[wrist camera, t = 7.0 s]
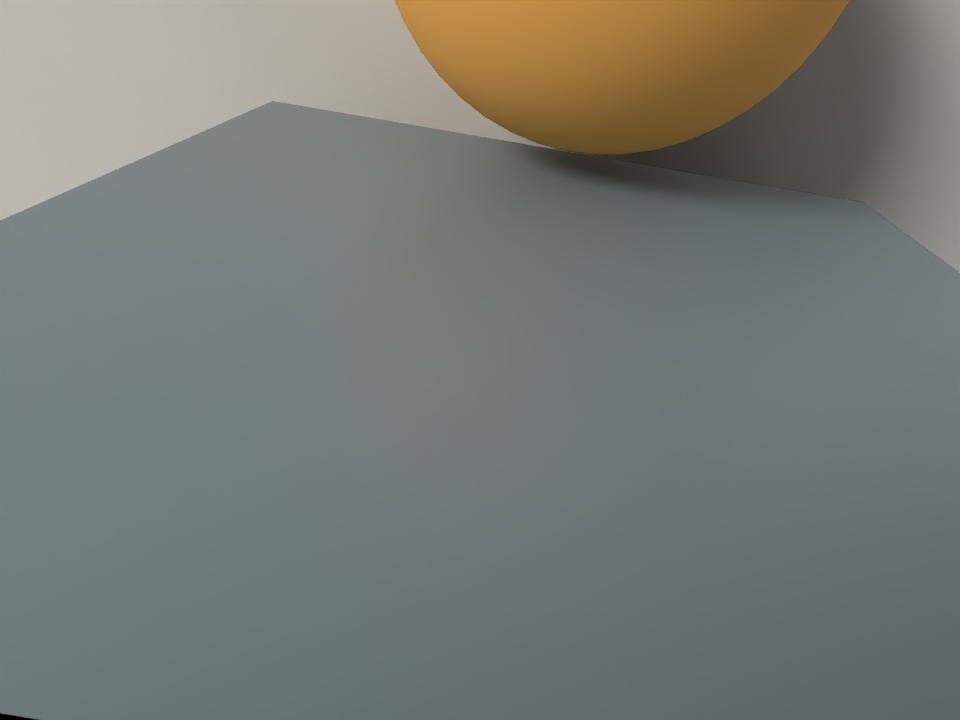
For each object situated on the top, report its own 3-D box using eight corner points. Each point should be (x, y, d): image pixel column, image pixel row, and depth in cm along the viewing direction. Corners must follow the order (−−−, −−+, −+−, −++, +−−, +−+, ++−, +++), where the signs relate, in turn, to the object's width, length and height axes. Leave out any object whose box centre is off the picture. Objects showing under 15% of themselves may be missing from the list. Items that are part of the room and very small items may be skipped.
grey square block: (694, 628, 13) (899, 1577, 5) (263, 551, 13) (-155, 1381, 5) (862, 201, 10) (2207, 1184, 2) (272, 101, 10) (-902, 616, 2)
